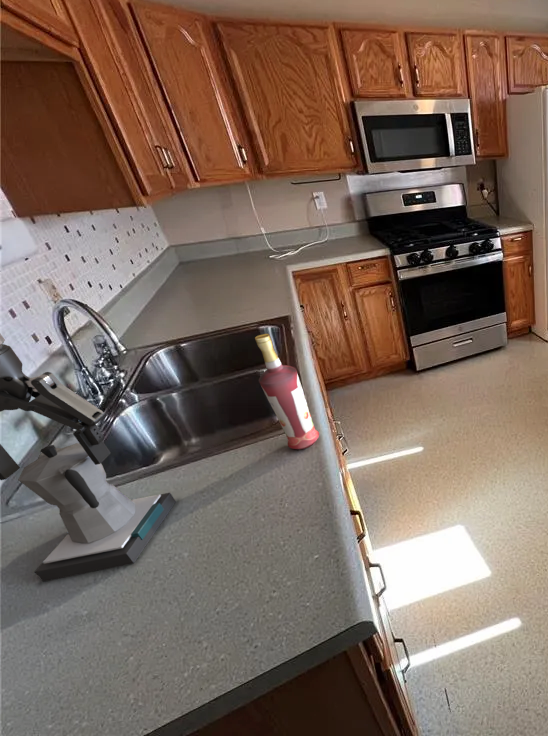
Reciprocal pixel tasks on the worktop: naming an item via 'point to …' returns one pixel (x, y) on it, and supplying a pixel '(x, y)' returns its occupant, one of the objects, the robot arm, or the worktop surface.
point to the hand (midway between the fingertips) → (57, 466)
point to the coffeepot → (78, 492)
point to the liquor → (286, 397)
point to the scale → (109, 543)
